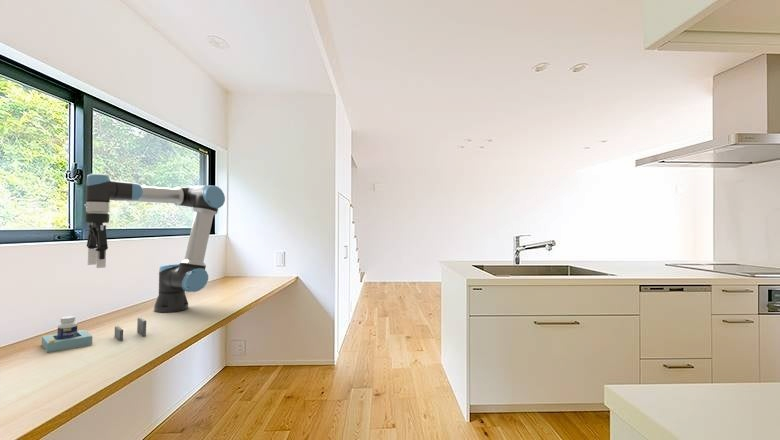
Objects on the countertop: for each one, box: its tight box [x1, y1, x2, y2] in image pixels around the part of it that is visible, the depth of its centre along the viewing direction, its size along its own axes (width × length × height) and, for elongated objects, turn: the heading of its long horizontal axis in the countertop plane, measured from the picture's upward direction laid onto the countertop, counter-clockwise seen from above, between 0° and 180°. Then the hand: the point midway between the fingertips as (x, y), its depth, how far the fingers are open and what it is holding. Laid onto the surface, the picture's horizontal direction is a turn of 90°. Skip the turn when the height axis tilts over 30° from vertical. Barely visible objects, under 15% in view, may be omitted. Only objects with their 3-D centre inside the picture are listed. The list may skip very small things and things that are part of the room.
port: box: [41, 329, 93, 353], centre depth 134 cm, size 12×12×4 cm
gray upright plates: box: [114, 317, 147, 342], centre depth 145 cm, size 8×7×6 cm
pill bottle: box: [57, 315, 78, 340], centre depth 134 cm, size 5×5×10 cm
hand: (96, 266), depth 149 cm, fingers open, 13 cm apart
